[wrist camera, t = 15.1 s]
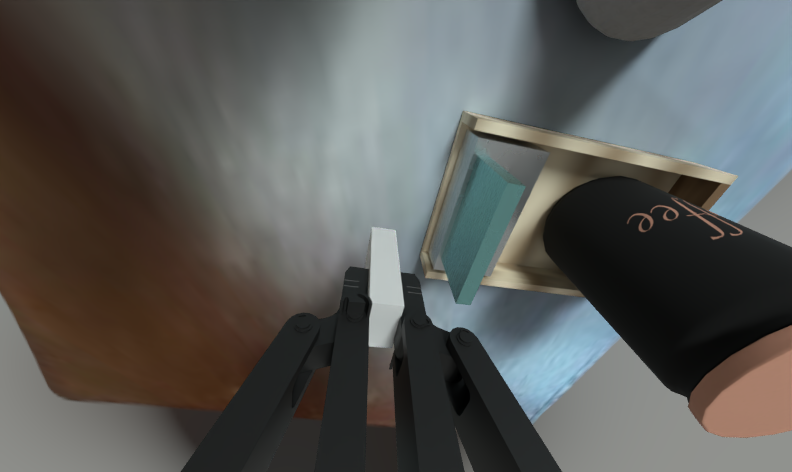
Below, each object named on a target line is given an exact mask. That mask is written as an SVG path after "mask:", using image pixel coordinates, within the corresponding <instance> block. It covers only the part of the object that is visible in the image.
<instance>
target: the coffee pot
mask: <svg viewBox="0 0 792 472" xmlns="http://www.w3.org/2000/svg"><path fill="white" fill-rule="evenodd" d="M720 1H722V0H576V2H577V6H578V7H579V9H580V10H581V12H582V13H583V15H584V16H585V18H586V19H587V21H588V22H589V23H590V24H591V25H592V26H593V27H594V28H596V29H597V30H599V31H600V32H601V33H603V34H604V35H606V36H607V37H611V38H615V39H620V40H625V41H636V40H644V39H651V38H654V37H656V36H659V35H661V34H664V33H666V32H668V31H671V30H673V29H676V28H678V27H680V26H681V25H683V24H685V23H686V22H688V21H689V20H691V19H693V18H694V17H696V16H698V15H699V14H701V13H702V12H704V11H706V10H707V9H709V8H711V7H712V6H714V5H716V4H717V3H719V2H720Z"/></svg>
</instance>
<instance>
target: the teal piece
mask: <svg viewBox="0 0 792 472" xmlns="http://www.w3.org/2000/svg"><path fill="white" fill-rule="evenodd" d="M549 154H550V152H548V151H546V150H544V149H542V148H540V147H538V146H536V145H534V144H532V143H529V142H524V141H520V140H515V139H510V138H505V137H501V136H496V135H491V134H487V133H482V132H477V131H473V130H468V129H467V131H466V134H465V137H464V140H463V143H462V146H461V149H460V153H459V156H458V159H457V162H456V165H455V168H454V171H453V174H452V178H451V181H450V184H449V187H448V190H447V193H446V196H445V200H444V203H443V206H442V209H441V212H440V215H439V218H438V222H437V225H436V228H435V231H434V234H433V237H432V240H431V244H430V247H429V250H428V252H429V255H430V259H431V262H432V266H433V269H435V270H443V271H445V272H446V275H447V278H448V281H449V284H450V287H451V290H452V293H453V296H454V299H455V302H456V304H465V305H471V303H472V300H473V298H474V296H475V294H476V292H477V290H478V288H479V285H480V283H481V281H482V279H483V277H484V276H491V274H492V272H493V270H494V268H495V266H496V264H497V262H498V260H499V258H500V256H501V254H502V251H503V249H504V247H505V245H506V243H507V241H508V239H509V237H510V235H511V233H512V231H513V229H514V227H515V225H516V223H517V220H518V218H519V216H520V214H521V212H522V210H523V208H524V206H525V204H526V202H527V200H528V198H529V196H530V194H531V192H532V190H533V187H534V185H535V183H536V181H537V179H538V177H539V175H540V173H541V171H542V169H543V167H544V165H545V163H546V161H547V159H548V156H549Z"/></svg>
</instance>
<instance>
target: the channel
mask: <svg viewBox="0 0 792 472" xmlns="http://www.w3.org/2000/svg"><path fill="white" fill-rule="evenodd" d="M467 129H468V130H473V131H477V132H482V133H487V134H491V135H496V136H501V137H505V138H510V139H515V140H520V141H524V142H529V143H532V144H534V145H536V146H538V147H540V148H542V149H544V150H546V151H548V152H550V154H549V156H548V159H547V161H546V163H545V165H544V167H543V169H542V171H541V173H540V175H539V177H538V179H537V181H536V183H535V185H534V187H533V190H532V192H531V194H530V196H529V198H528V200H527V202H526V204H525V206H524V208H523V210H522V212H521V214H520V216H519V218H518V220H517V223H516V225H515V227H514V229H513V231H512V233H511V235H510V237H509V239H508V241H507V243H506V245H505V247H504V249H503V251H502V254H501V256H500V258H499V260H498V262H497V264H496V266H495V268H494V270H493V272H492V274H491V276H484V277H483V279H482V281H481V283H480V285H488V286H496V287H504V288H513V289H521V290H529V291H537V292H545V293H553V294H562V295H570V296H578V297H585V296H584V295H583V294H582V293H581V292H580V291H579V290H578V289H577V287H576V286H575V285H574V284H573V283H572V282H571V281H570V280H569V279H568V277H567V276H566V275H565V274H564V273H563V272H562V271H561V270H560V269H559V267H558V266H557V265H556V264H555V263H554V262H553V261H552V259H551V258H550V257H549V256H548V254H547V253H546V252H545V247H544V241H543V232H544V227H545V222H546V219H547V217H548V215H549V213H550V212H551V210H552V208H553V207H554V206H555V204H556V203H557V202H558V201H559V200H560V199H561V198H562V197H563V196H564V195H565V194H567V193H568V192H570V191H571V190H573V189H574V188H575V187H577V186H579V185H582V184H584V183H586V182H589V181H591V180H596V179H598V178H604V177H612V176H624V177H629V178H634V179H637V180H639V181H642V182H644V183H646V184H649V185H651V186H653V187H655V188H658V189H660V190H662V191H665V192H667V193H669V194H671V195H674V196H676V197H678V198H680V199H683V200H685V201H687V202H690V203H692V204H694V205H696V206H699V207H701V208H703V209H706V210H708V211H709V210H710V208H711V207H712V206H713V205H714V204H715V203H716V201H717V200H718V199H719V198H720V197H721V196H722V195H723V193H724V192H725V191H726V190H727V189H728V188H729V186H730V185H731V184H732V183H733V182H734V181H735V179H736V178H737V177H738V176H736V175H733V174H730V173H726V172H723V171H720V170H717V169H713V168H710V167H707V166H704V165H700V164H697V163H694V162H690V161H685V160H681V159H676V158H672V157H667V156H663V155H658V154H654V153H650V152H645V151H641V150H636V149H632V148H627V147H623V146H618V145H614V144H609V143H605V142H600V141H596V140H592V139H587V138H583V137H578V136H574V135H569V134H565V133H560V132H556V131H551V130H547V129H542V128H538V127H534V126H529V125H525V124H520V123H516V122H511V121H507V120H502V119H498V118H493V117H489V116H485V115H480V114H476V113H471V112H467V111H463V113H462V117H461V120H460V123H459V127H458V130H457V133H456V137H455V140H454V143H453V146H452V150H451V153H450V156H449V160H448V163H447V166H446V170H445V173H444V176H443V180H442V183H441V186H440V189H439V193H438V196H437V199H436V203H435V206H434V209H433V213H432V216H431V219H430V223H429V226H428V229H427V232H426V236H425V239H424V242H423V246H422V249H421V252H420V258H421V262H422V266H423V271H424V275H425V278H431V279H439V280H447V281H448V278H447V275H446V272H445V271H443V270H435V269H433V266H432V262H431V259H430V255H429V252H428V250H429V247H430V244H431V240H432V237H433V234H434V231H435V228H436V225H437V222H438V218H439V215H440V212H441V209H442V206H443V203H444V200H445V196H446V193H447V190H448V187H449V184H450V181H451V178H452V174H453V171H454V168H455V165H456V162H457V159H458V156H459V153H460V149H461V146H462V143H463V140H464V137H465V134H466V131H467Z"/></svg>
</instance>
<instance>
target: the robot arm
mask: <svg viewBox="0 0 792 472" xmlns="http://www.w3.org/2000/svg"><path fill="white" fill-rule="evenodd" d="M393 343H394V348H395V350H394V353H393V357H392V360H391V363H390V368H389V369H392V366H393V381H394V401H395V422H396V441H397V462H398V472H465V471H464V467H463V462H462V458H461V453H460V449H459V444H458V439H457V434H456V430H457V432H458V435H459V437H460V439H461V442H462V444H463V446H464V449H465V451H466V453H467V456H468V458H469V460H470V463H471V465H472V468H473V470H474V472H562V471H561V469H560V468H559V466H558V465H557V463H556V461H555V460H554V458H553V457H552V455H551V454H550V452H549V450H548V449H547V447H546V446H545V444H544V442H543V441H542V439H541V438H540V436H539V435H538V433H537V432H536V430H535V428H534V427H533V425H532V424H531V422H530V420H529V419H528V417H527V416H526V414H525V412H524V411H523V409H522V408H521V406H520V405H519V403H518V401H517V400H516V398H515V397H514V395H513V393H512V392H511V390H510V389H509V387H508V386H507V384H506V382H505V381H504V379H503V378H502V376H501V375H500V373H499V371H498V370H497V368H496V367H495V365H494V363H493V362H492V360H491V359H490V357H489V356H488V354H487V352H486V351H485V349H484V348H483V346H482V344H481V343H480V341H479V340H478V338H477V337H476V336H475V335H474V333H472V332H471V331H469V330H468V329H465V328H459V327H457V328H454V329H453V330H452V331H451V332H448V331H445V330H442V329H440V328H438V327H436V326H434V325H433V324H432V321H431V319H430V318H429V317H428V316H427V315H426V312H425V307H424V302H423V297H422V292H421V287H420V282H419V280H418V278H417V277H416V276H415V274H409V273H401V272H400V264H399V255H398V247H397V238H396V230H391V229H384V228H378V227H372V229H371V234H370V240H369V245H368V251H367V256H366V262H365V268H357V267H350V268H349V269H348V270H347V271H346V272H345V279H344V285H343V291H342V298H341V301H340V308H339V310H338V311H337V313H335V314H334V315H333V316H330V317H328V318H323V319H318V318H317V317H316V316H315V315H312V314H310V313H299V314H296V315H294V316H292V317H291V318H290V319H289V320H288V321H287V322H286V323H285V325H284V326H283V328H282V329H281V331H280V332H279V333H278V335H277V336H276V338H275V339H274V340H273V342H272V343H271V345H270V346H269V348H268V349H267V350H266V352H265V353H264V355H263V356H262V357H261V359H260V360H259V362H258V363H257V365H256V366H255V367H254V369H253V370H252V372H251V373H250V374H249V376H248V377H247V379H246V380H245V382H244V383H243V384H242V386H241V387H240V389H239V390H238V391H237V393H236V394H235V396H234V397H233V399H232V400H231V401H230V403H229V404H228V406H227V407H226V408H225V410H224V411H223V413H222V414H221V416H220V417H219V419H218V420H217V421H216V423H215V424H214V425H213V427H212V428H211V430H210V431H209V433H208V434H207V435H206V437H205V438H204V440H203V441H202V442H201V444H200V445H199V447H198V448H197V449H196V451H195V452H194V454H193V455H192V457H191V458H190V460H189V461H188V462H187V464H186V465H185V466H184V468H183V469H182V471H181V472H266V471H267V469H268V467H269V465H270V463H271V461H272V459H273V457H274V455H275V453H276V451H277V448H278V446H279V444H280V442H281V440H282V438H283V436H284V434H285V432H286V430H287V428H288V426H289V424H290V422H291V419H292V417H293V415H294V413H295V411H296V409H297V407H298V405H299V403H300V401H301V399H302V397H303V395H304V393H305V391H306V388H307V386H308V384H309V382H310V380H311V378H312V376H313V374H314V372H315V369H319V368H323V367H327V366H331V367H330V374H329V380H328V387H327V393H326V400H325V406H324V413H323V419H322V426H321V432H320V439H319V445H318V451H317V458H316V464H315V471H314V472H365V457H366V455H365V454H366V421H367V385H368V350H369V346H372V347H383V348H392V346H393ZM455 428H456V430H455Z"/></svg>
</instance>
